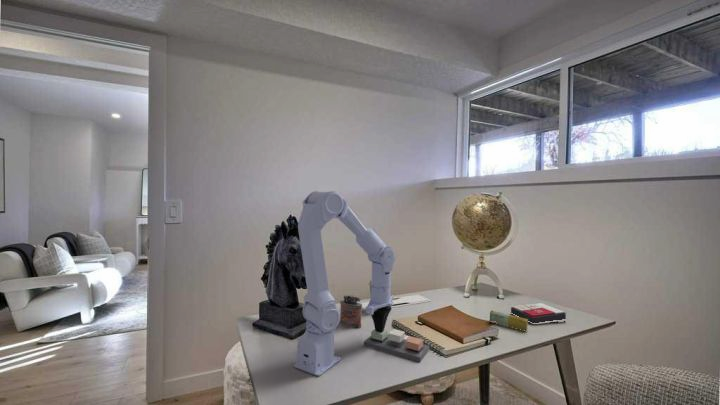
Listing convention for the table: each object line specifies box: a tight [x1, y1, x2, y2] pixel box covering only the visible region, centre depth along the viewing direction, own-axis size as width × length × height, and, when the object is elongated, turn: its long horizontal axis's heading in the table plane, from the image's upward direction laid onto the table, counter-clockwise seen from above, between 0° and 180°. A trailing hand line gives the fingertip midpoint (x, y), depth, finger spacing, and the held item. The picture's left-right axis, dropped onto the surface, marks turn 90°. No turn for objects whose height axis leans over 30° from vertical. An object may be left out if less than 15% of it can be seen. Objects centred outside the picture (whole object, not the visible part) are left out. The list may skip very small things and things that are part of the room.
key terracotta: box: [406, 336, 424, 351], centre depth 86 cm, size 4×4×2 cm
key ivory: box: [387, 328, 406, 343], centre depth 88 cm, size 4×4×2 cm
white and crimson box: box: [510, 302, 567, 323], centre depth 116 cm, size 11×4×15 cm
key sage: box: [370, 328, 388, 341], centre depth 91 cm, size 4×4×2 cm
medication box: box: [489, 310, 529, 332], centre depth 107 cm, size 12×3×4 cm, turn 52°
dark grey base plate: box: [363, 334, 430, 363], centre depth 88 cm, size 8×17×1 cm, turn 60°
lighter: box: [339, 294, 363, 329], centre depth 104 cm, size 8×3×10 cm, turn 62°
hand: (379, 331), depth 91 cm, fingers closed, pressing on key sage
